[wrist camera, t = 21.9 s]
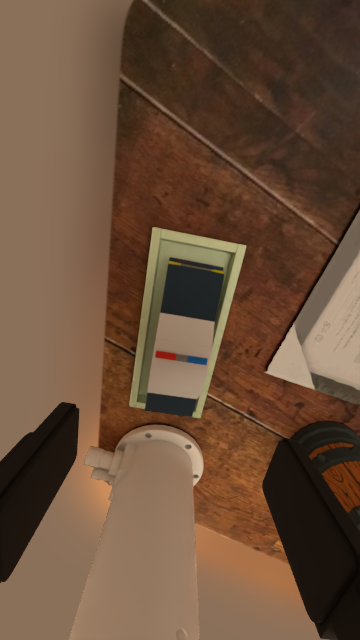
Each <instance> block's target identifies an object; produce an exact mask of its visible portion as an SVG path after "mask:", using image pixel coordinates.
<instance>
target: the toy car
mask: <svg viewBox="0 0 360 640" xmlns="http://www.w3.org/2000/svg"><path fill="white" fill-rule="evenodd" d="M223 279H224V272H223V267H219V266H214V265H209V264H204V263H198V262H193V261H188V260H183V259H177V258H172V257H170V258H169V263H168V268H167V274H166V280H165V286H164V292H163V298H162V305H161V311H160V317H159V322H158V328H157V333H156V339H155V345H154V351H153V357H152V363H151V370H150V376H149V383H148V392H147V399H146V405H145V411H152V412H160V413H167V414H175V415H183V416H190V417H192V415H193V412H194V408H195V404H196V400H197V398H198V397H199V396H200V394H201V392H202V389H203V386H204V382H205V378H206V374H207V370H208V366H209V361H210V357H211V352H212V345H213V334H214V323H215V318H216V314H217V309H218V304H219V300H220V295H221V290H222V285H223Z"/></svg>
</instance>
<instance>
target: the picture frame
mask: <svg viewBox="0 0 360 640" xmlns="http://www.w3.org/2000/svg"><path fill="white" fill-rule="evenodd" d="M265 373H267V374H270V375H273V376H276V377H279V378H282V379H284V380H287V381H290V382H293V383H296V384H299V385H302V386H305V387H308V388H312V389H314V390H317V391H320V392H322V393H325V394H328V395H331V396H334V397H337V398H340V399H343V400H346V401H348V402H351V403H354V404H357V405H360V210H359V212H358V214H357V216H356V217H355V219H354V221H353V222H352V224H351V226H350V228H349V229H348V231H347V233H346V235H345V236H344V238H343V240H342V242H341V243H340V245H339V247H338V249H337V250H336V252H335V254H334V256H333V257H332V259H331V261H330V262H329V264H328V266H327V267H326V269H325V271H324V272H323V274H322V276H321V278H320V279H319V281H318V283H317V284H316V286H315V288H314V289H313V291H312V293H311V295H310V296H309V298H308V300H307V302H306V303H305V305H304V307H303V309H302V310H301V312H300V314H299V315H298V317H297V319H296V321H295V322H294V323H293V326H292V327H291V328H290V330H289V333H288V334H287V335H286V339H285V340H284V341H283V343H282V345H281V346H280V347H279V350H278V351H277V353H276V355H274V357H273V360H272V362H271V363H270V364H269V366H268V371H267V372H265Z"/></svg>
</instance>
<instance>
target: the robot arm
mask: <svg viewBox="0 0 360 640" xmlns="http://www.w3.org/2000/svg"><path fill="white" fill-rule="evenodd" d="M78 422H79V409H78V408H76V405H75V404H71V403H65V402H62V403H60V404H59V405H58V406H57V407H56V408H55V409H54V410H53V412H52V413H51V414H50V415H49V416H48V417H47V418H46V419H45V420H44V422H43V423H42V424H41V425H40V426H39V427H38V428H37V429H36V430H35V431H34V432H30V433H28V434H27V435H26V436H24V437H23V438H22V439H21V440H20V441H19V442H18V443H17V444H16V446H15V447H14V448H13V449H12V450H11V451H10V452H9V453H8V454H7V455H6V456H5V457H4V458H3V459H2V460H1V461H0V583H1V581H2V582H5V581H6V580H7V579H8V578H9V576H10V575H11V573H12V572H13V570H14V568H15V566H16V565H17V563H18V561H19V559H20V558H21V556H22V554H23V552H24V551H25V549H26V547H27V545H28V543H29V542H30V540H31V538H32V536H33V535H34V533H35V531H36V529H37V527H38V526H39V524H40V522H41V520H42V518H43V517H44V515H45V513H46V511H47V510H48V508H49V506H50V504H51V503H52V500H53V499H54V497H55V495H56V494H57V492H58V490H59V488H60V486H61V485H62V483H63V481H64V479H65V478H66V476H67V474H68V472H69V471H70V469H71V467H72V465H73V463H74V461H75V459H76V455H77V443H78V424H79V423H78ZM84 464H85V465H89V466H92V467H94V470H93V472H92V475H91V478H94V479H98V480H104V481H108V482H109V483H108V484H109V485H112V486H113V487H112V491H111V494H110V497H109V500H111V504H110V507H109V510H108V513H107V517H106V520H105V523H104V527H103V530H102V533H101V536H100V540H99V543H98V546H97V549H96V553H95V556H94V559H93V563H92V566H91V569H90V572H89V576H88V579H87V582H86V586H85V589H84V592H83V595H82V599H81V602H80V605H79V608H78V612H77V615H76V618H75V622H74V625H73V628H72V632H71V635H70V638H69V640H199V614H198V592H197V567H196V545H195V544H196V542H195V519H194V495H193V486H194V485H195V484H196V483H197V482H198V481H199V479H200V478H201V475H202V473H203V467H204V464H203V455H202V451H201V449H200V447H199V445H198V444H197V442H196V441H195V440H194V439H193V438H192V437H191V436H190V435H188V434H187V433H185V432H183V431H182V430H180V429H177V428H174V427H171V426H166V425H147V426H142V427H139V428H136V429H134V430H132V431H130V432H129V433H127V434H126V435H125V436H123V438H122V439H121V440H120V441H119V443H118V445H117V447H116V449H115V452H114V453H113V452H109V451H106V450H105V449H101V448H97V447H93V446H91V447H90V449H89V451H88V453H87V455H86V458H85V460H84ZM262 486H263V492H264V495H265V498H266V501H267V503H268V506H269V509H270V512H271V514H272V517H273V520H274V523H275V525H276V528H277V531H278V534H279V536H280V539H281V542H282V545H283V548H284V550H285V553H286V556H287V559H288V561H289V564H290V567H291V570H292V572H293V575H294V578H295V581H296V583H297V586H298V589H299V592H300V595H301V597H302V600H303V603H304V605H305V608H306V611H307V613H308V615H309V617H310V619H311V620H312V621H313V622H314V623H315V625H316V628H317V631H318V633H319V636H320V638H322V639H330V640H360V531H359V529H358V528H357V527H356V525H355V524H354V522H353V521H352V519H351V518H350V516H349V515H348V513H347V512H346V510H345V509H344V507H343V506H342V504H341V503H340V501H339V500H338V498H337V497H336V495H335V494H334V492H333V491H332V490H331V488H330V487H329V485H328V484H327V482H326V481H325V479H324V478H323V476H322V475H321V473H320V472H319V470H318V469H317V467H316V466H315V464H314V463H313V461H312V460H311V458H310V457H309V455H308V454H307V453H306V451H305V450H304V448H303V447H302V445H301V444H300V442H299V441H297V440H294V439H287V438H283V439H282V441H279V443H278V445H277V448H276V450H275V453H274V455H273V458H272V460H271V463H270V465H269V468H268V470H267V473H266V475H265V478H264V480H263V485H262Z"/></svg>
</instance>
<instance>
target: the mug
mask: <svg viewBox="0 0 360 640" xmlns="http://www.w3.org/2000/svg"><path fill="white" fill-rule="evenodd" d="M291 439H294V440H297V441H299V442H300V444H301V445H302V447H303V448H304V450H305V451H306V453H307V454H308V455H309V457H310V458H311V460H312V461H313V463H314V464H315V466H316V467H317V469H318V470H319V472H320V473H321V475H322V476H323V478H324V479H325V481H326V482H327V484H328V485H329V487H330V488H331V490H332V491H333V492H334V494H335V495H336V497H337V498H338V500H339V501H340V503H341V504H342V506H343V507H344V509H345V510H346V512H347V513H348V515H349V516H350V518H351V519H352V521H353V522H354V524H355V525H356V527H357V528H358V529H359V531H360V438H359V436H358V435H357V434H356V433H355V432H354V431H353V430H351V429H350V428H348V427H347V426H345V425H344V424H342V423H336V422H331V421H326V422H318V423H313V424H311V425H309V426H307V427H304V428H302V429H300V430H299V431H298V432H297V433H296V434H295V435H294V436H293V437H291Z"/></svg>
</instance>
